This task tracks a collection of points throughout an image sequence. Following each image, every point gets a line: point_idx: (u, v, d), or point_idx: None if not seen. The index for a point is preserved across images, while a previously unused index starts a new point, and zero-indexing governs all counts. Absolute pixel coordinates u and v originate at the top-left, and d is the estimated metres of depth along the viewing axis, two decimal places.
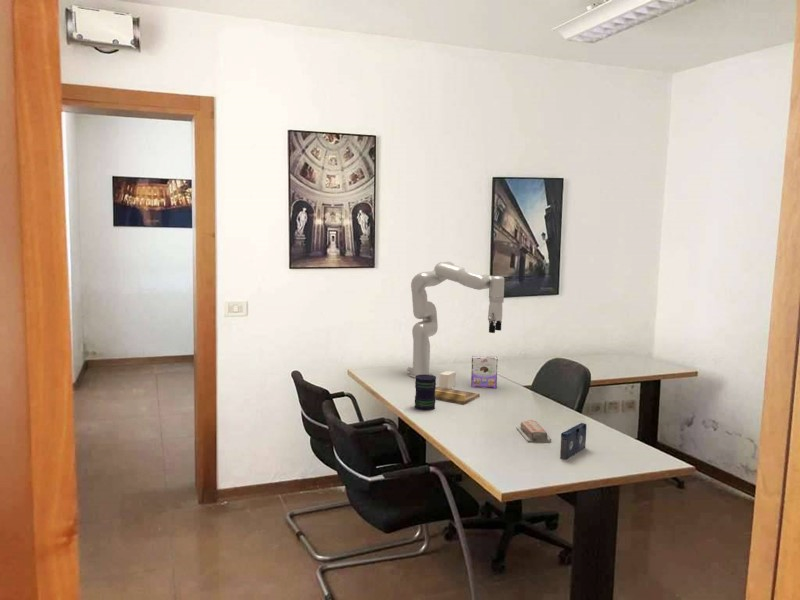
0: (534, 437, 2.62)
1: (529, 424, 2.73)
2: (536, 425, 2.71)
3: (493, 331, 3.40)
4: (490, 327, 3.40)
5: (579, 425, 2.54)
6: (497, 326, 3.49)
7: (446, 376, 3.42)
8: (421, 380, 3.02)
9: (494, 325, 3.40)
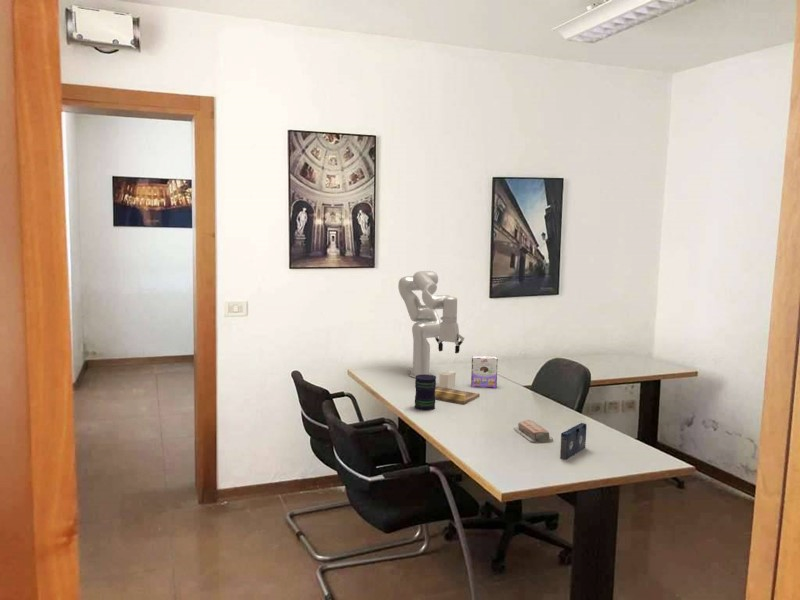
0: (537, 437, 2.62)
1: (528, 424, 2.72)
2: (535, 425, 2.71)
3: None
4: (458, 348, 3.41)
5: (579, 425, 2.54)
6: (441, 347, 3.47)
7: (446, 376, 3.42)
8: (421, 380, 3.02)
9: None
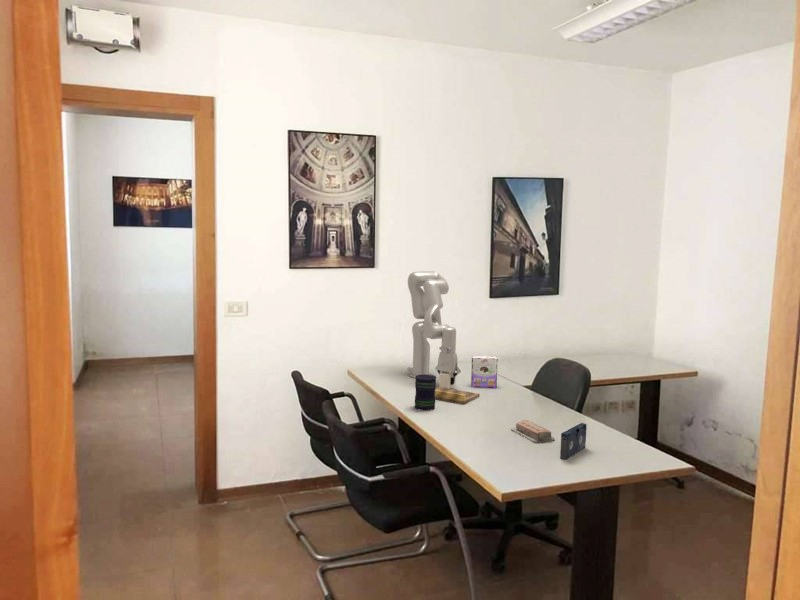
0: (540, 437, 2.62)
1: (527, 424, 2.72)
2: (535, 425, 2.71)
3: (453, 382, 3.46)
4: (453, 379, 3.44)
5: (579, 425, 2.54)
6: None
7: (446, 376, 3.42)
8: (421, 380, 3.02)
9: None
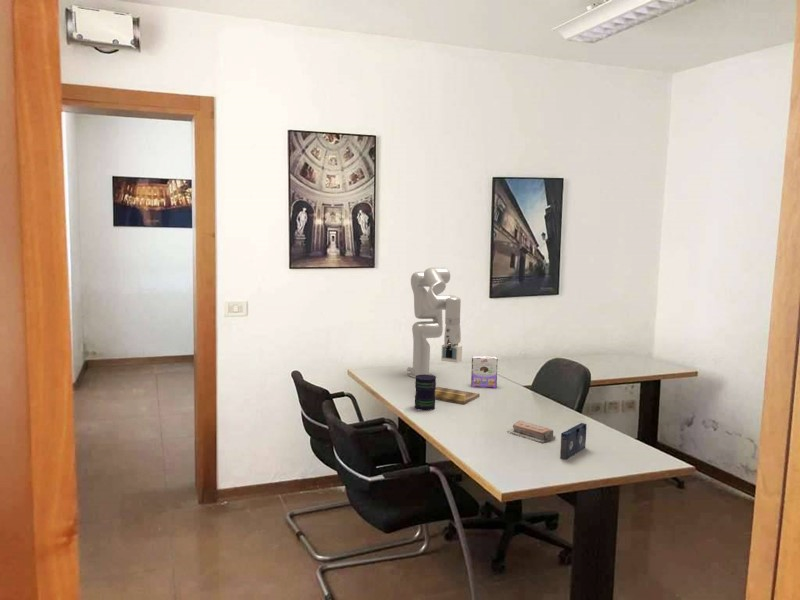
0: (546, 437, 2.63)
1: (526, 425, 2.71)
2: (533, 425, 2.71)
3: None
4: None
5: (579, 425, 2.54)
6: None
7: (461, 347, 3.28)
8: (421, 380, 3.02)
9: None
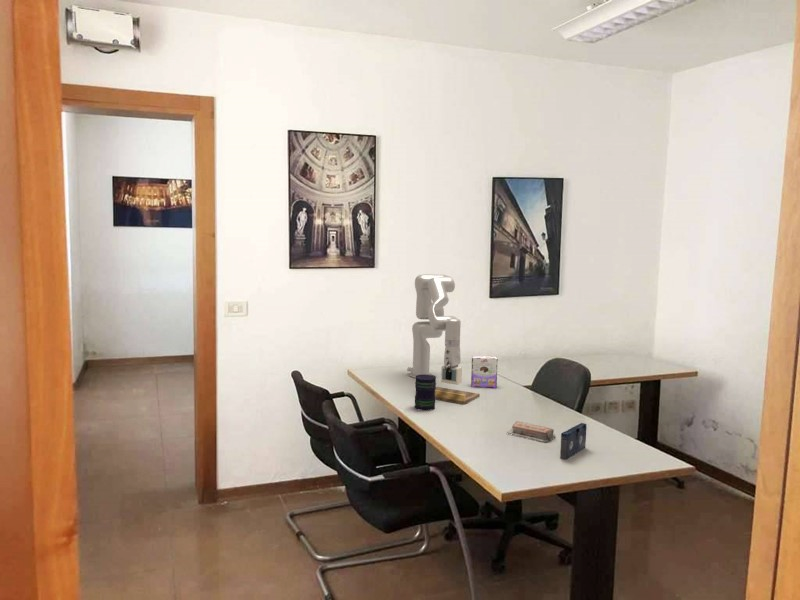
0: (548, 436, 2.63)
1: (525, 425, 2.71)
2: (532, 425, 2.71)
3: None
4: None
5: (579, 425, 2.54)
6: None
7: (461, 369, 3.26)
8: (421, 380, 3.02)
9: None
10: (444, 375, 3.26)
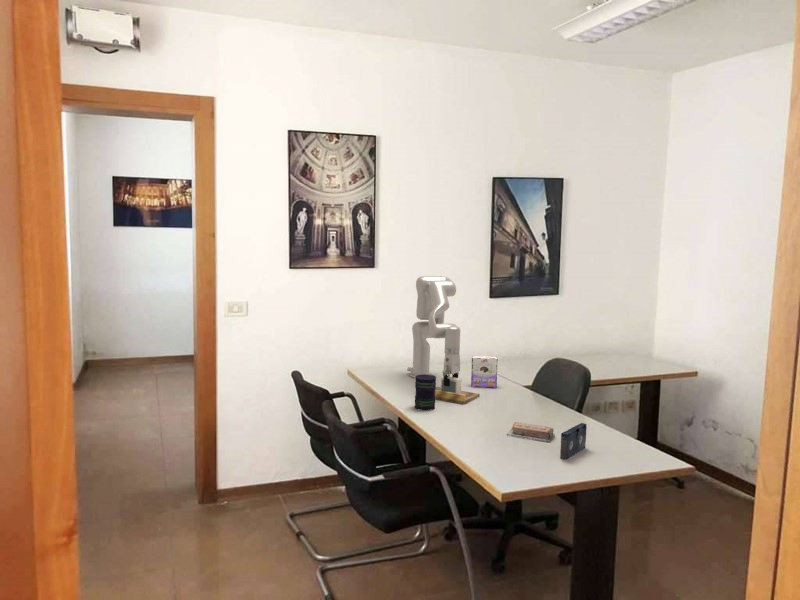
0: (550, 436, 2.64)
1: (525, 426, 2.70)
2: (531, 425, 2.71)
3: None
4: None
5: (579, 425, 2.54)
6: None
7: (460, 380, 3.27)
8: (421, 380, 3.02)
9: (453, 374, 3.32)
10: (444, 386, 3.27)
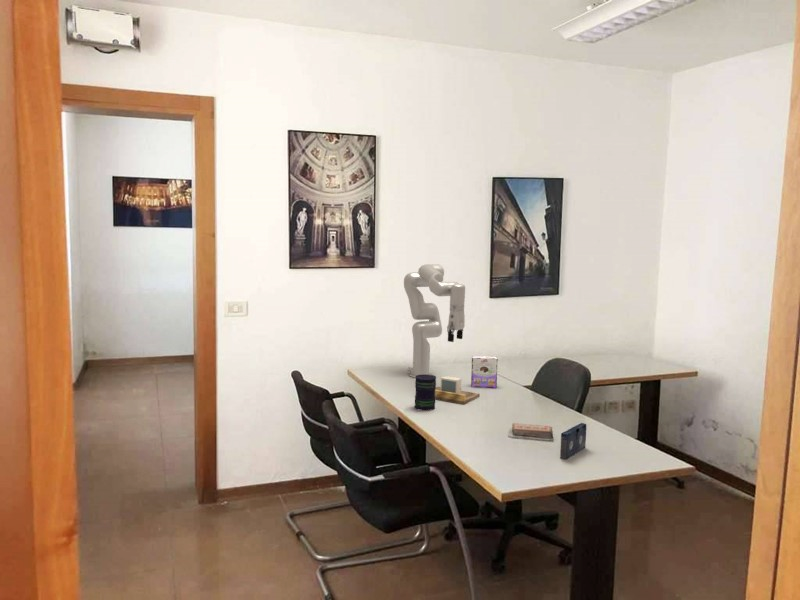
0: (552, 434, 2.66)
1: (525, 426, 2.69)
2: (531, 425, 2.71)
3: None
4: None
5: (579, 425, 2.54)
6: None
7: (460, 380, 3.27)
8: (421, 380, 3.02)
9: None
10: (444, 386, 3.27)
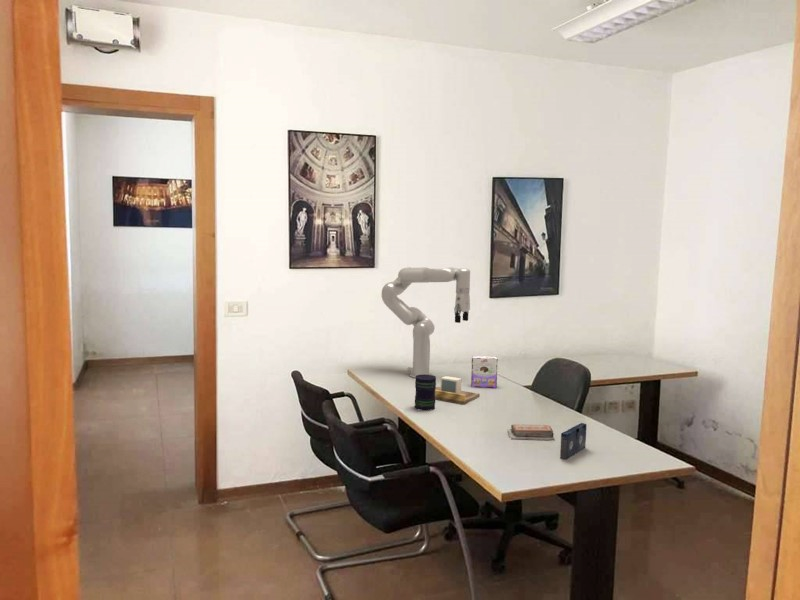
0: None
1: (526, 427, 2.68)
2: (530, 425, 2.71)
3: None
4: None
5: (579, 425, 2.54)
6: None
7: (460, 380, 3.27)
8: (421, 380, 3.02)
9: None
10: (444, 386, 3.27)
